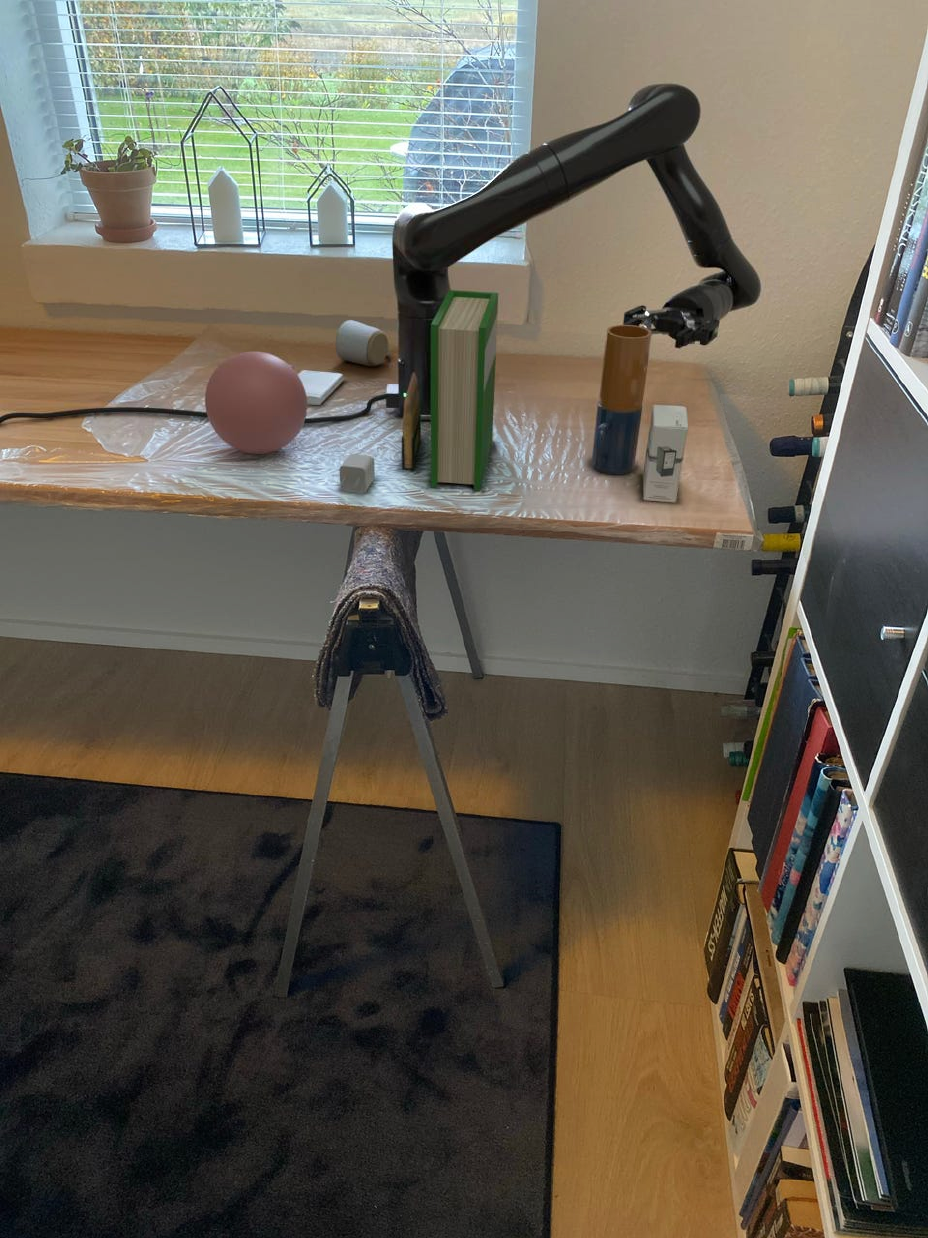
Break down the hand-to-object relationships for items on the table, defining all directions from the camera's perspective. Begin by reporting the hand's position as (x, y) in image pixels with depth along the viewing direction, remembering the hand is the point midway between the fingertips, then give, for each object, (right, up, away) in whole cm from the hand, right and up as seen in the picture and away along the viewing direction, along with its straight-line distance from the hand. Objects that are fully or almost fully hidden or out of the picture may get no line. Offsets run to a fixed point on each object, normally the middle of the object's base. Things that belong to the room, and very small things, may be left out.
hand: (651, 336), depth 142 cm
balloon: (-60, -15, +8) cm, 62 cm away
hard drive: (-56, -2, +28) cm, 63 cm away
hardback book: (-29, -19, +3) cm, 35 cm away
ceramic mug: (-48, +8, +43) cm, 65 cm away
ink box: (+1, -24, -2) cm, 24 cm away
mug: (-6, -20, +3) cm, 21 cm away
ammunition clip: (-37, -17, +6) cm, 41 cm away
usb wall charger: (-45, -24, -4) cm, 51 cm away
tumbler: (-5, -11, -1) cm, 12 cm away
